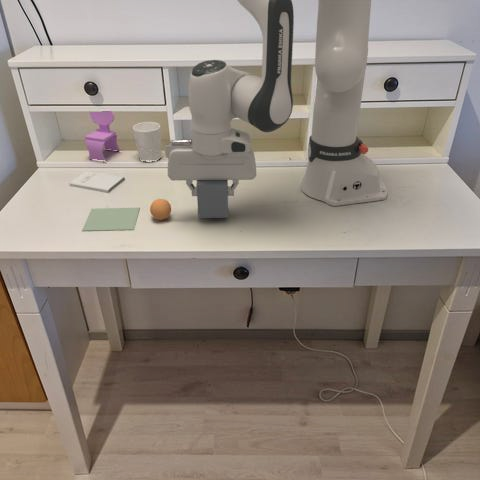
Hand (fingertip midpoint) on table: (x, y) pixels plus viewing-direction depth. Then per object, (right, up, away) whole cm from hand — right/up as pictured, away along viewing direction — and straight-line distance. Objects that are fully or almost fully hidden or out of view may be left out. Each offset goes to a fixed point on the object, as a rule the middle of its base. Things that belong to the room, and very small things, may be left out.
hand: (213, 194), depth 111 cm
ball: (-13, -3, +1) cm, 13 cm away
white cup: (-21, +14, +32) cm, 40 cm away
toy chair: (-35, +15, +33) cm, 50 cm away
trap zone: (-25, -6, +3) cm, 25 cm away
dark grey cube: (0, -3, +2) cm, 4 cm away
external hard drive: (-33, +5, +19) cm, 38 cm away
